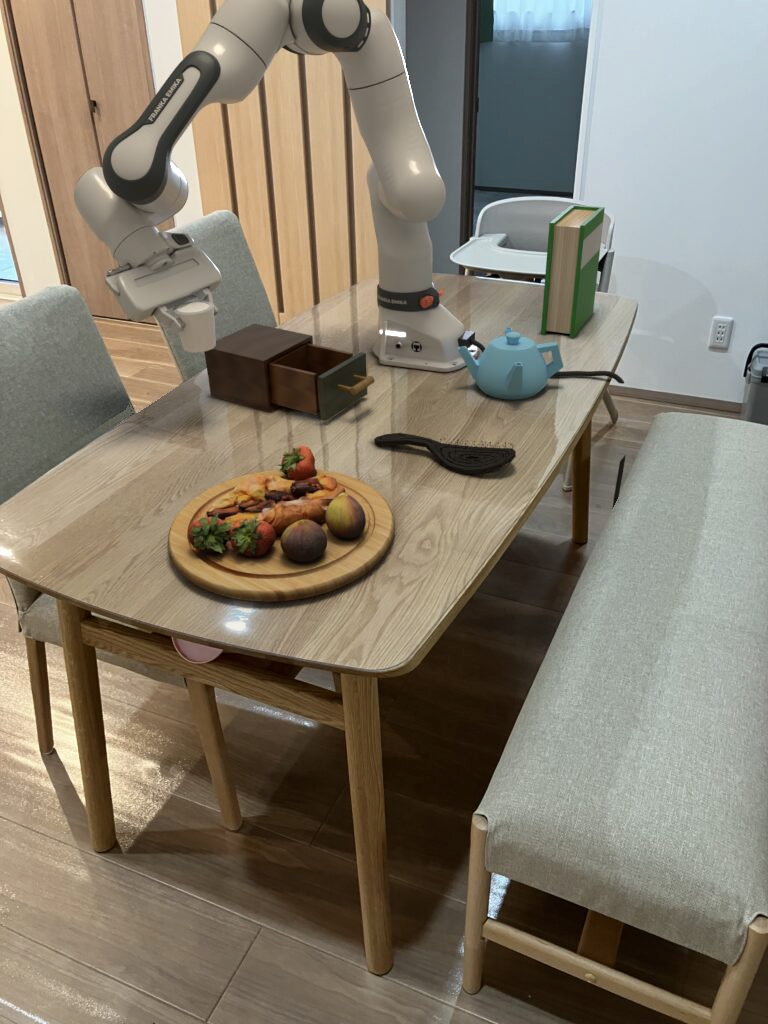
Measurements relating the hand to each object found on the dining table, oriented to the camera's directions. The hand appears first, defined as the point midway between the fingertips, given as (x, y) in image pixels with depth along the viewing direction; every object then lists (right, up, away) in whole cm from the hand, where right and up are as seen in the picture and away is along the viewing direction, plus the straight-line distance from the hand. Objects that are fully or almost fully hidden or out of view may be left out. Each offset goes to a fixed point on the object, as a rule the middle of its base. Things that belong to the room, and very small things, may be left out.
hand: (198, 322), depth 141 cm
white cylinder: (0, -4, +3) cm, 5 cm away
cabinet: (+8, -8, +21) cm, 24 cm away
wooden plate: (+17, -36, -22) cm, 45 cm away
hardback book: (+74, +11, +49) cm, 89 cm away
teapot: (+56, -8, +20) cm, 60 cm away
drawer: (+21, -12, +14) cm, 28 cm away
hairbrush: (+41, -23, -3) cm, 47 cm away
